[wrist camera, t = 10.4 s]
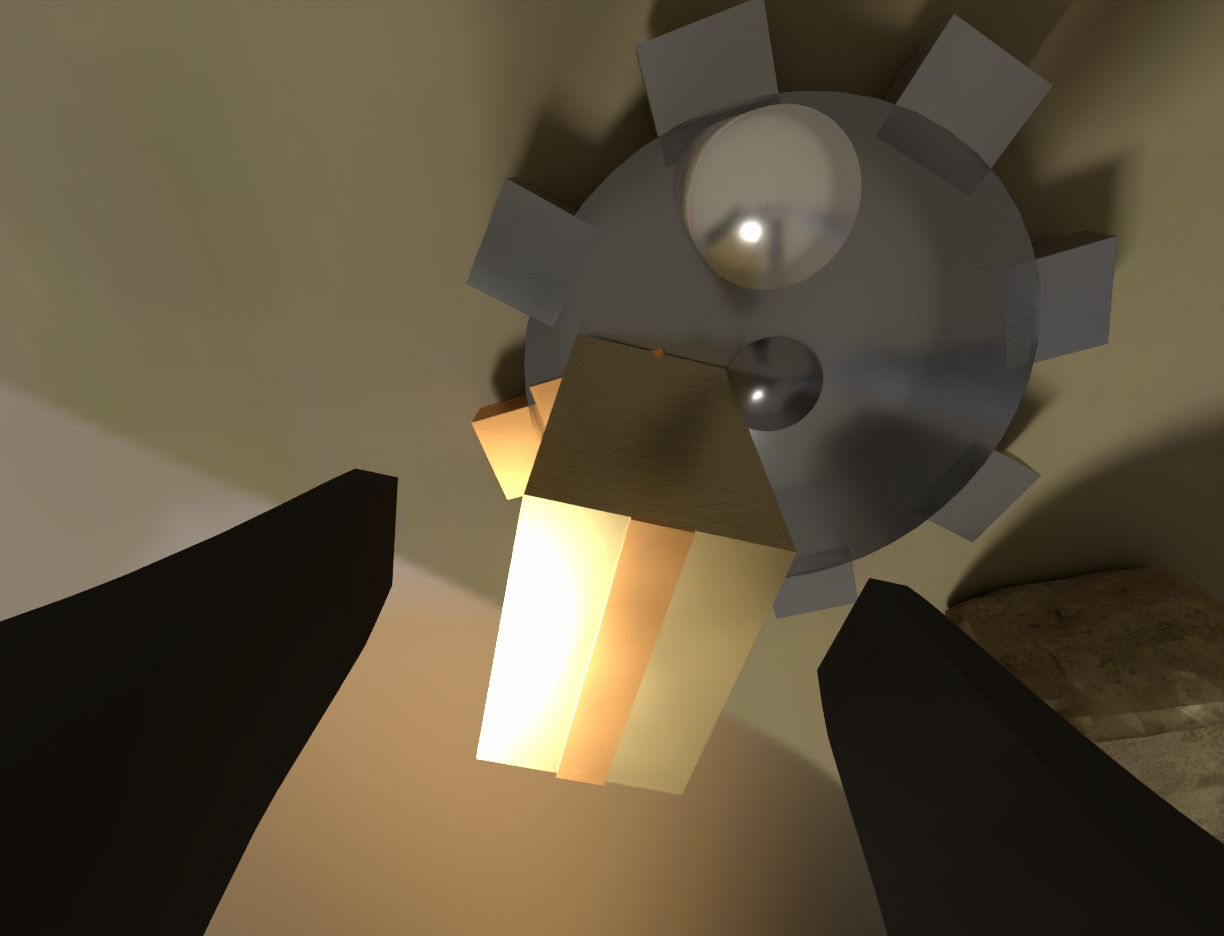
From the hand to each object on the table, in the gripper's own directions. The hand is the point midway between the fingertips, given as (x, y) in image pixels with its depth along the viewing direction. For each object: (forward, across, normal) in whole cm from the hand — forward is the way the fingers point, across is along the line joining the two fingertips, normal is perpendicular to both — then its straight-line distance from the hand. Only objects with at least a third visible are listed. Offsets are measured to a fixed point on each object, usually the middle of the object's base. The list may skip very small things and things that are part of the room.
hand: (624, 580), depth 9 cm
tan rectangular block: (+4, 0, 0) cm, 4 cm away
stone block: (+6, -14, +6) cm, 17 cm away
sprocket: (+5, -2, -2) cm, 6 cm away
